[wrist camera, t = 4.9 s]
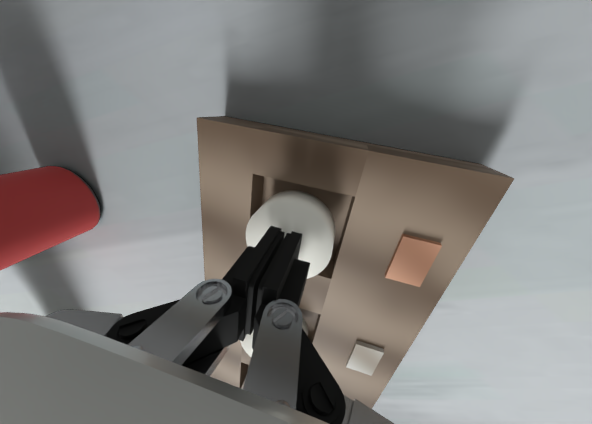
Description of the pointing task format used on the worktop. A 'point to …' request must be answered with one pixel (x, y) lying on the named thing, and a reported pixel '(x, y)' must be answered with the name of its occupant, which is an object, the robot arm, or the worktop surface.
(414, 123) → the worktop surface
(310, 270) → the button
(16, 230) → the beer can
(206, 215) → the button board
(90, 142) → the worktop surface
